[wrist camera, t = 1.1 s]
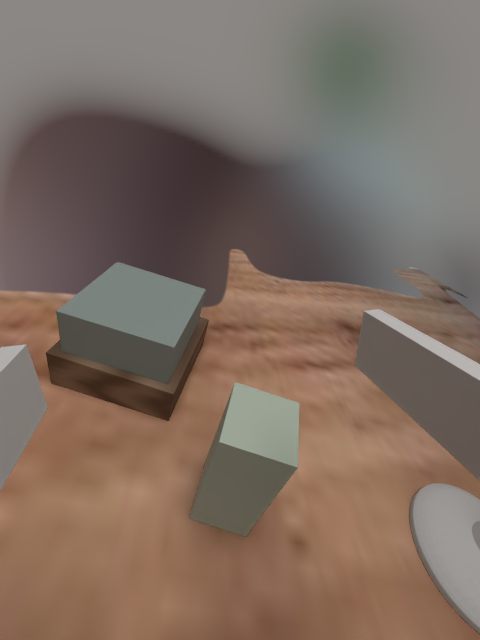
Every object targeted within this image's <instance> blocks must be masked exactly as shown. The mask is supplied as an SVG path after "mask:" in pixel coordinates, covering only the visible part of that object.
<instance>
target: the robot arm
mask: <svg viewBox="0 0 480 640" xmlns="http://www.w3.org/2000/svg"><path fill="white" fill-rule="evenodd" d="M355 366H356V367H357V368H358V369H359V370H360V371H361V372H363V373H364V374H365V375H366V376H367V377H368V378H369V379H370V380H371V381H372V382H373V383H374V384H376V385H377V386H378V387H379V388H380V389H381V390H382V391H383V392H384V393H385V394H386V395H387V396H389V397H390V398H391V399H392V400H393V401H394V402H395V403H396V404H397V405H398V406H399V407H400V408H402V409H403V410H404V411H405V412H406V413H407V414H408V415H409V416H410V417H411V418H412V419H413V420H415V421H416V422H417V423H418V424H419V425H420V426H421V427H422V428H423V429H424V430H425V431H426V432H428V433H429V434H430V435H431V436H432V437H433V438H434V439H435V440H436V441H437V442H438V443H439V444H441V445H442V446H443V447H444V448H445V449H446V450H447V451H448V452H449V453H450V454H451V455H452V456H454V457H455V458H456V459H457V460H458V461H459V462H460V463H461V464H462V465H463V466H464V467H465V468H467V469H468V470H469V471H470V472H471V473H472V474H473V475H474V476H475V477H476V478H477V479H478V480H480V364H478V363H477V362H475V361H473V360H471V359H469V358H467V357H466V356H464V355H462V354H460V353H458V352H456V351H455V350H453V349H451V348H449V347H447V346H445V345H444V344H442V343H440V342H438V341H436V340H435V339H433V338H431V337H429V336H427V335H425V334H424V333H422V332H420V331H418V330H416V329H414V328H413V327H411V326H409V325H407V324H405V323H403V322H402V321H400V320H398V319H396V318H394V317H393V316H391V315H389V314H387V313H385V312H383V311H382V310H380V309H378V310H368V311H364V313H363V319H362V326H361V332H360V338H359V344H358V350H357V357H356V363H355ZM47 409H48V407H47V404H46V401H45V398H44V395H43V392H42V389H41V386H40V383H39V380H38V377H37V374H36V371H35V368H34V365H33V362H32V359H31V356H30V353H29V350H28V347H27V345H17V346H7V347H1V348H0V491H1V489H2V487H3V486H4V484H5V482H6V480H7V479H8V477H9V475H10V473H11V472H12V470H13V468H14V466H15V465H16V463H17V461H18V459H19V458H20V456H21V454H22V452H23V451H24V449H25V447H26V445H27V444H28V442H29V440H30V438H31V437H32V435H33V433H34V431H35V430H36V428H37V426H38V424H39V423H40V421H41V419H42V417H43V416H44V414H45V412H46V410H47Z"/></svg>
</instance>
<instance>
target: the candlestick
mask: <svg viewBox="0 0 480 640" xmlns="http://www.w3.org/2000/svg"><path fill="white" fill-rule="evenodd" d="M409 519H410V528H411V532H412V536H413V540H414V543H415V546H416V549H417V551H418V554H419V556H420V558H421V560H422V562H423V564H424V566H425V568H426V570H427V572H428V574H429V575H430V577H431V579H432V580H433V582H434V584H435V585H436V587H437V588H438V589H439V591H440V592H441V594H442V595H443V596H444V598H445V599H446V600H447V602H448V603H449V604H450V605H451V606H452V608H453V609H454V610H455V611H456V612H457V613H458V614H459V615H460V616H461V617H462V618H463V619H464V620H465V621H466V622H467V623H468V624H469V625H470V626H471V627H472V628H473V629H474V630H476V631H477V632H478V633H479V634H480V499H478V498H476V497H475V496H473V495H472V494H470V493H468V492H466V491H464V490H462V489H460V488H457V487H455V486H451V485H448V484H441V483H435V484H429V485H427V486H424V487H423V488H421V489H420V490H419V491H418V492H417V493H416V494H415V495H414V497H413V499H412V501H411V504H410V511H409Z"/></svg>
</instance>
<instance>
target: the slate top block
mask: <svg viewBox="0 0 480 640" xmlns="http://www.w3.org/2000/svg"><path fill="white" fill-rule="evenodd" d="M204 295H205V289H202V288H199V287H196V286H193V285H189V284H186V283H183V282H180V281H177V280H174V279H170V278H167V277H164V276H161V275H158V274H154V273H151V272H148V271H145V270H142V269H138V268H135V267H132V266H129V265H126V264H123V263H119V262H117V263H116V264H114V265H113V266H112V267H111V268H109V269H108V270H107V271H106V272H104V273H103V274H102V275H101V276H99V277H98V278H97V279H96V280H94V281H93V282H92V283H91V284H90V285H88V286H87V287H86V288H84V289H83V290H82V291H81V292H79V293H78V294H77V295H76V296H74V297H73V298H72V299H71V300H69V301H68V302H67V303H66V304H64V305H63V306H62V307H61V308H59V309H58V310H57V311H56V313H57V321H58V328H59V335H60V343H61V350H62V351H63V352H66V353H69V354H73V355H76V356H79V357H82V358H86V359H89V360H92V361H95V362H99V363H102V364H105V365H108V366H112V367H115V368H118V369H121V370H125V371H128V372H131V373H134V374H138V375H141V376H144V377H147V378H151V379H154V380H157V381H160V382H164V383H167V384H168V383H169V381H170V379H171V377H172V375H173V373H174V371H175V369H176V367H177V365H178V363H179V361H180V359H181V357H182V355H183V353H184V351H185V348H186V346H187V344H188V342H189V340H190V338H191V336H192V334H193V332H194V330H195V328H196V326H197V324H198V322H199V318H200V313H201V308H202V304H203V299H204Z"/></svg>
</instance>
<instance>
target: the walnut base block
mask: <svg viewBox="0 0 480 640" xmlns="http://www.w3.org/2000/svg"><path fill="white" fill-rule="evenodd" d="M208 321H209V320H207V319H204V318H201V317H200V318H199V322H198V324H197V326H196V328H195V330H194V332H193V334H192V336H191V338H190V340H189V342H188V344H187V346H186V348H185V351H184V353H183V355H182V357H181V359H180V361H179V363H178V365H177V367H176V369H175V371H174V373H173V375H172V377H171V379H170V381H169V383H168V384H167V383H164V382H160V381H157V380H154V379H151V378H147V377H144V376H141V375H138V374H134V373H131V372H128V371H125V370H121V369H118V368H115V367H112V366H108V365H105V364H102V363H99V362H95V361H92V360H89V359H86V358H82V357H79V356H76V355H73V354H69V353H66V352H63V351H62V350H61V343H60V340H59V341H58V342H57V343H56V344H55V345H54V346H53V347H52V348H51V349H49V350H48V351H47V352H46V356H47V362H48V367H49V373H50V379H51V383H52V384H56V385H59V386H62V387H65V388H68V389H71V390H74V391H77V392H80V393H83V394H86V395H90V396H93V397H96V398H99V399H102V400H105V401H108V402H111V403H114V404H117V405H120V406H124V407H127V408H130V409H133V410H136V411H139V412H142V413H145V414H148V415H151V416H154V417H158V418H161V419H164V420H167V421H169V418H170V416H171V414H172V412H173V410H174V407H175V405H176V403H177V401H178V398H179V396H180V394H181V392H182V390H183V387H184V385H185V383H186V381H187V378H188V376H189V374H190V372H191V370H192V367H193V365H194V363H195V361H196V358H197V356H198V354H199V352H200V350H201V347H202V345H203V341H204V337H205V333H206V329H207V325H208Z"/></svg>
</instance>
